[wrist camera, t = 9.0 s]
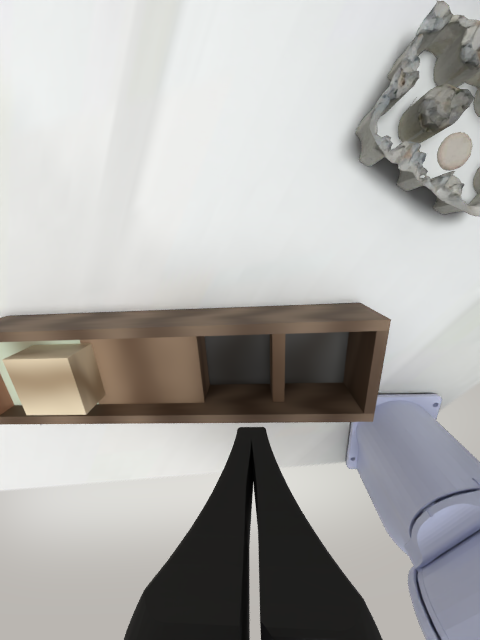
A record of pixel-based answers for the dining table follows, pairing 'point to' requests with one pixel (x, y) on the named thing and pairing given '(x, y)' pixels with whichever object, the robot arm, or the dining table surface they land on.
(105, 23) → the dining table surface
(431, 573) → the robot arm
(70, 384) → the beech block
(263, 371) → the brown wooden long box
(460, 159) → the egg carton
